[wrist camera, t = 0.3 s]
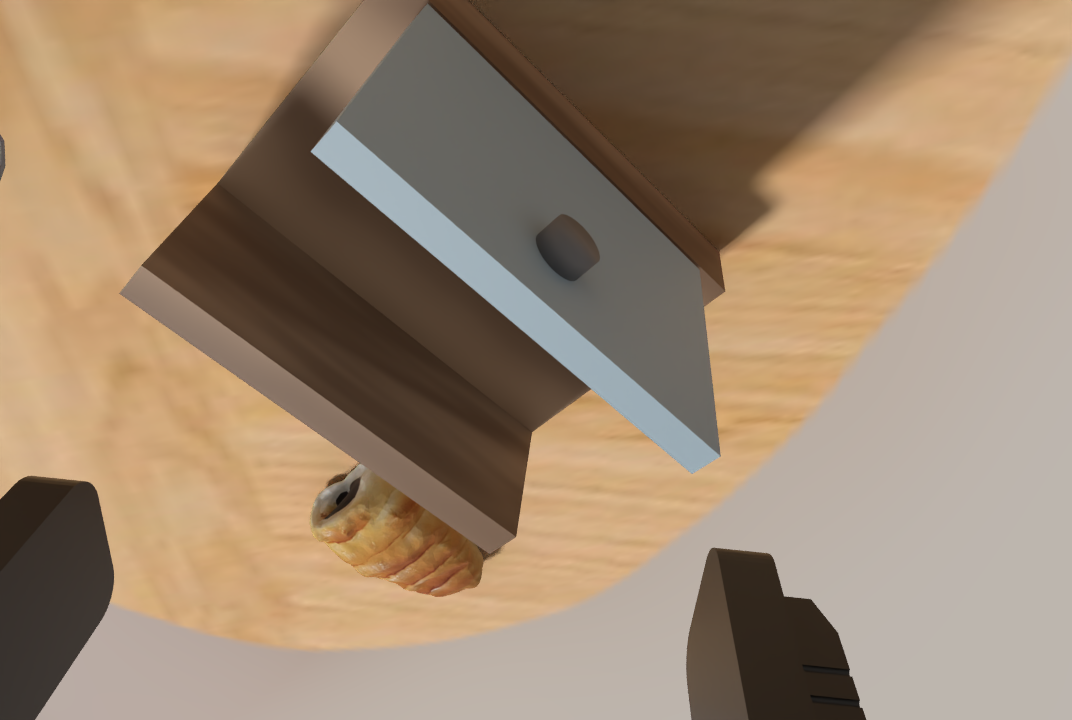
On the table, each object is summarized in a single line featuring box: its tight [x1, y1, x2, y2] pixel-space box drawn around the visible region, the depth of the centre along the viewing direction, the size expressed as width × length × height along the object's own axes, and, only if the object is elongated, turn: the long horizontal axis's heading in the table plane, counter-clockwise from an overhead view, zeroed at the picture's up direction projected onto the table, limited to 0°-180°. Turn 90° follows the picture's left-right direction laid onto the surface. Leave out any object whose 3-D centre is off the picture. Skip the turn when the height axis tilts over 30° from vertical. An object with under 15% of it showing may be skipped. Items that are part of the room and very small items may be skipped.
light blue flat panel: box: [311, 3, 721, 474], centre depth 25 cm, size 2×13×10 cm, turn 46°
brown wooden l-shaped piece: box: [119, 0, 725, 554], centre depth 31 cm, size 12×16×9 cm
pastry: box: [310, 463, 483, 597], centre depth 44 cm, size 9×7×4 cm
